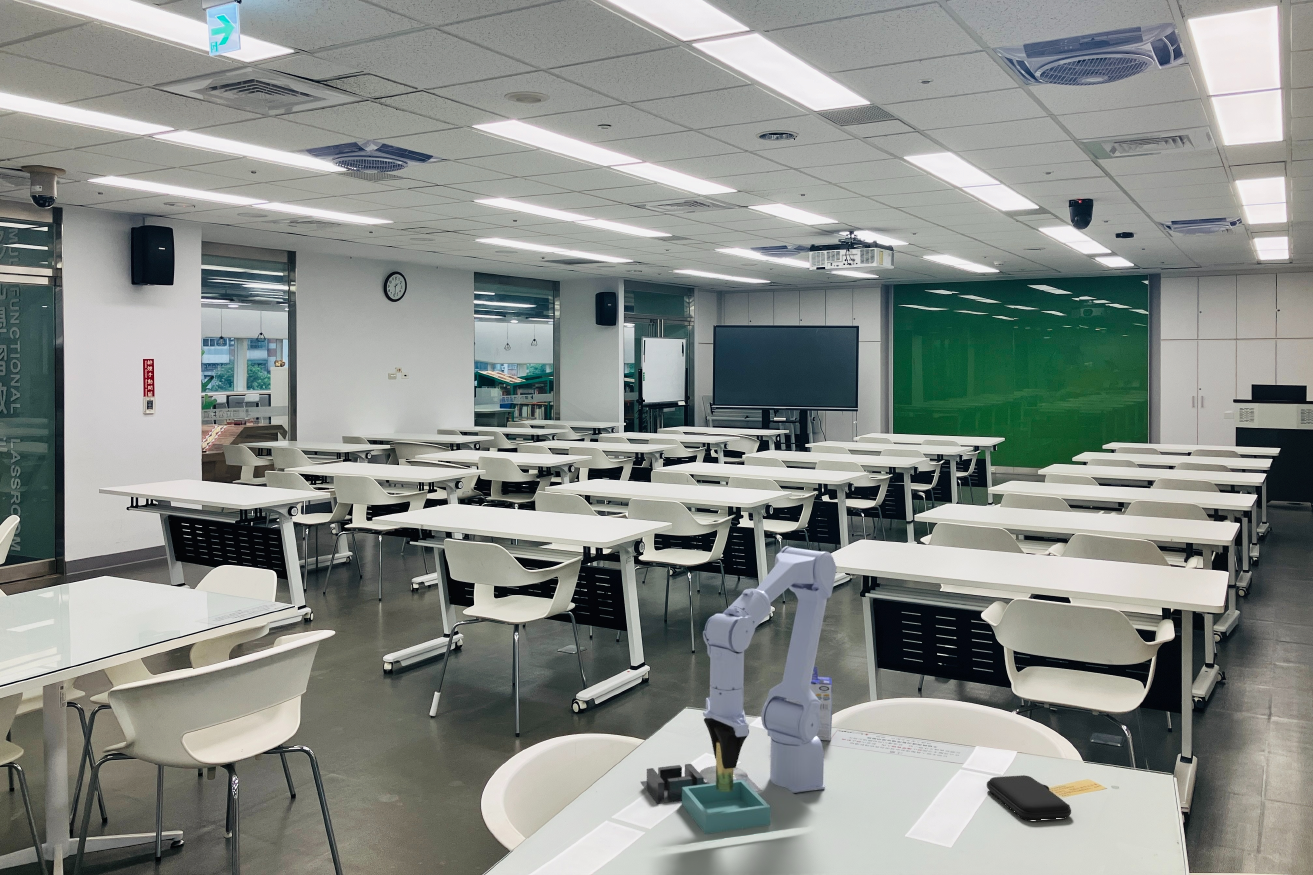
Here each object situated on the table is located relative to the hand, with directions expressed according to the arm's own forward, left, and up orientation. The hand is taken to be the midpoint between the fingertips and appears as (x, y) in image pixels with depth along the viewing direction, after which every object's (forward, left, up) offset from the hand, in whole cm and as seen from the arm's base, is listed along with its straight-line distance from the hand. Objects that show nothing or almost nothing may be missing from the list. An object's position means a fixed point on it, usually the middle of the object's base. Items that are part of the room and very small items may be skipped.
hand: (725, 763), depth 164 cm
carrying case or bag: (-55, +10, -10) cm, 57 cm away
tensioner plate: (0, -12, -10) cm, 15 cm away
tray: (0, 0, -10) cm, 10 cm away
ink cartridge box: (-32, -32, -10) cm, 46 cm away
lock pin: (0, 0, -4) cm, 4 cm away
